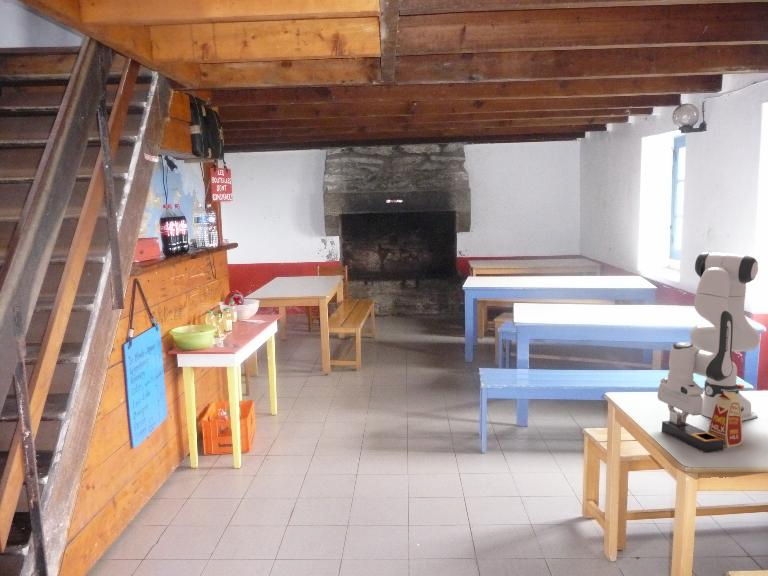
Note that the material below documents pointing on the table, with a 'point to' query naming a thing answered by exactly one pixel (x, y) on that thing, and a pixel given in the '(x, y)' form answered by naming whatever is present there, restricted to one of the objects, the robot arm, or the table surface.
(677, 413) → the grey square block
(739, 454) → the table surface
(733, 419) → the milk carton
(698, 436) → the box with square holes
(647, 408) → the table surface
